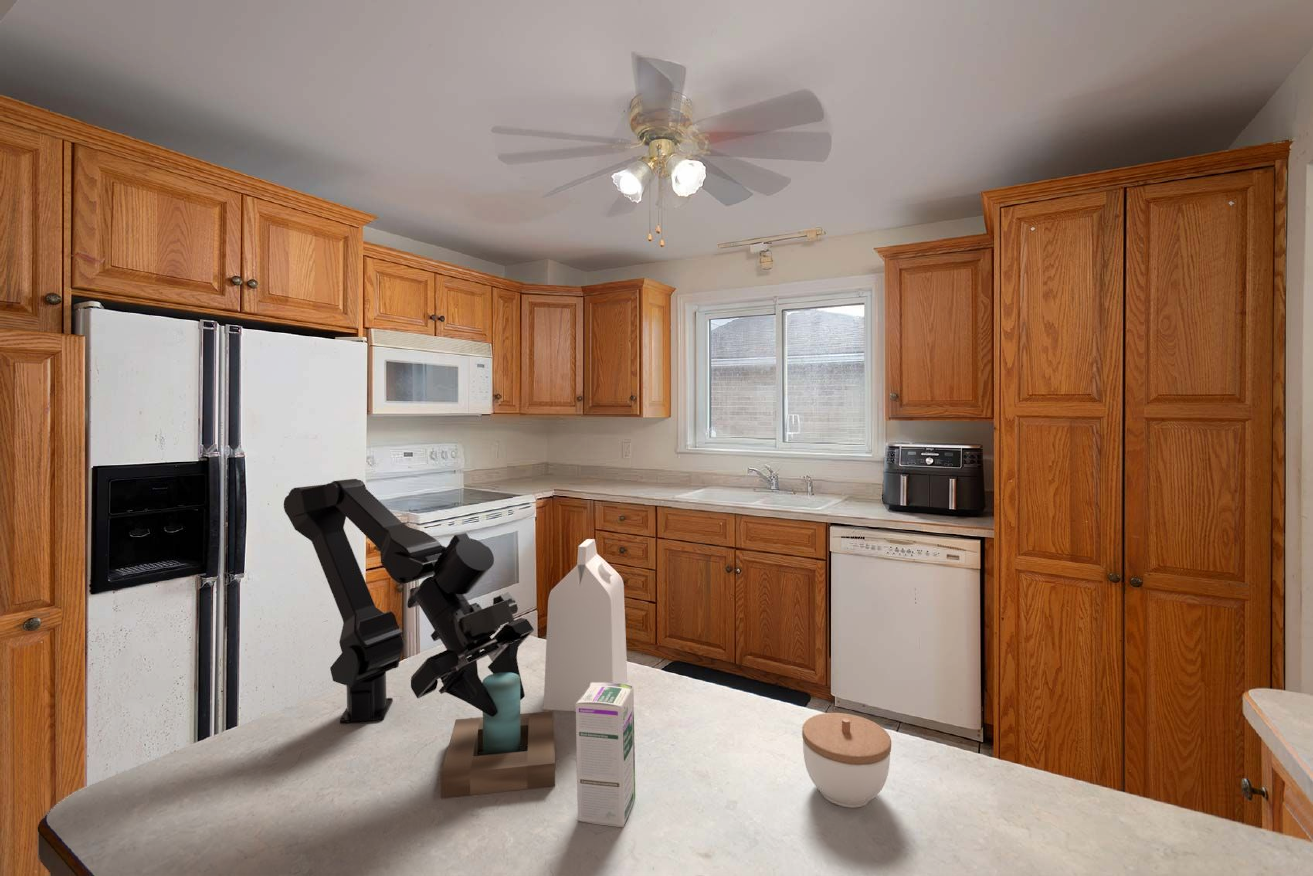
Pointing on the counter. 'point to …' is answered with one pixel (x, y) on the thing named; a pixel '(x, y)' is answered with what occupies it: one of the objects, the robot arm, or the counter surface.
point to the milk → (584, 631)
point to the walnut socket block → (499, 759)
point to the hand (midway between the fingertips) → (509, 706)
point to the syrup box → (605, 754)
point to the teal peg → (502, 714)
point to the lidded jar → (846, 757)
